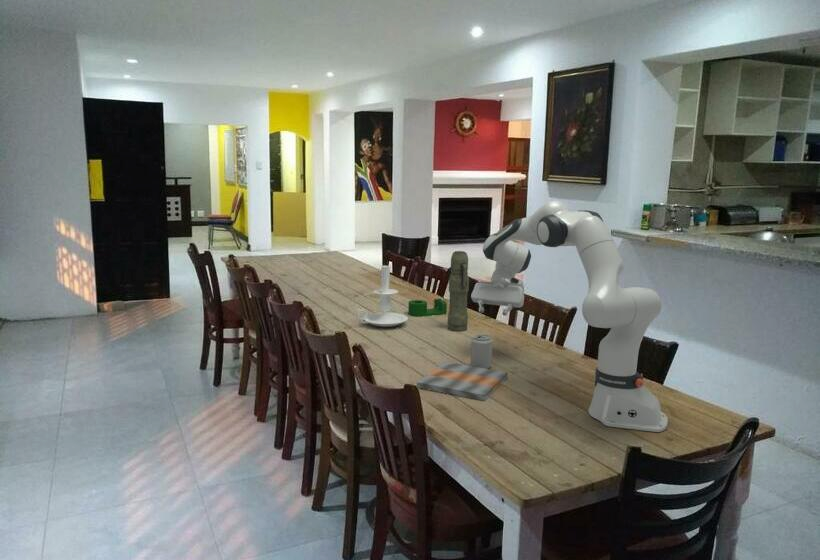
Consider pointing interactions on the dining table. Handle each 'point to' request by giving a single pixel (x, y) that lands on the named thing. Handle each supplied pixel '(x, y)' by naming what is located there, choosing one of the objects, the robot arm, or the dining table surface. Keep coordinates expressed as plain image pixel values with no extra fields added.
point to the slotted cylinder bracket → (420, 308)
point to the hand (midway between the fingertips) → (492, 313)
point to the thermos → (458, 292)
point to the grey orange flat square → (463, 380)
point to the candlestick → (384, 305)
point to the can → (481, 351)
